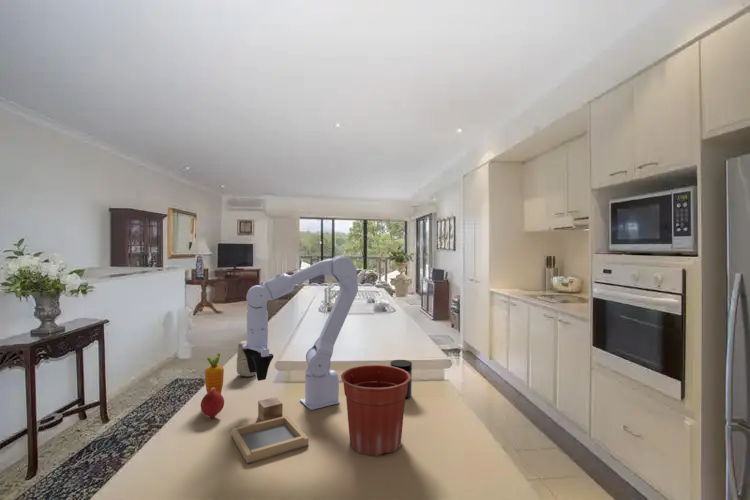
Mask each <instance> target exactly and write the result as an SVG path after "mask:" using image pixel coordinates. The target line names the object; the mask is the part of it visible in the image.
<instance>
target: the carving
mask: <svg viewBox="0 0 750 500" xmlns="http://www.w3.org/2000/svg"><path fill="white" fill-rule="evenodd" d="M246 343H247V339H245V340H242V341H239V343H238V345H237V351H236V353H237V355H236V356H237V357H236V374H237V375H238V376H241V377H253V376H256V372H253V373H250V372H249V368H248V363H247V359H246V356H245V354H244V352H243V350H242V349H243V347H242V345H244V344H246Z"/></svg>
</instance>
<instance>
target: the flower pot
mask: <svg viewBox="0 0 750 500" xmlns="http://www.w3.org/2000/svg"><path fill="white" fill-rule="evenodd" d="M340 378H341V379H340V380H341V381H342V383H343V392H344V395H345V398H346V399H345V400H346V410H347V421H348V422H347V423H348V435H349V444H350V445H351V446H352V448H353V450H354V451H356V452H358V453H360V454H363V455H367V456H383V454H385V453H387V454H388V453H389V454H392V453H394V452H395V451H397V450H398V449H399V448H400V446H401V444H402V434H403V425H404V424H403V423H404V414H405V403H406V400H405V397H406V395H407V388H408V382H409V381H410V378H411V376H410V374H409V373H408V372H407V371H405V370H403V369H400V368H397V367H392V366H390V365H383V364H367V365H360V366H354V367H351V368H348V369H346V370H345V371H343V372H342V373H341V374H340Z"/></svg>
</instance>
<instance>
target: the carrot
mask: <svg viewBox="0 0 750 500" xmlns="http://www.w3.org/2000/svg"><path fill="white" fill-rule="evenodd" d="M220 356H221V353H220V352H217V354H216V356H215V358H214V359H212V358H211V357H210V356H207V357H206V360H207V361H208V363H209V364H210V365H209V366H208V367H207V368H206V369H205V371H204V377H205V378H204V380H205V390H206V394H207V393H208V392H210V390H211V389H212V388H216V390H215V391H217V392H219V393H220V394H221V395H222V391H223V385H224V376H225V374H224V371H225V369H224V367H223V366H221V365H218V363H219V361H220Z"/></svg>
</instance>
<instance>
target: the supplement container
mask: <svg viewBox="0 0 750 500" xmlns="http://www.w3.org/2000/svg"><path fill="white" fill-rule="evenodd" d="M389 364H390V365H389V366H392V367H397V368H400V369H403V370H405V371H407V372H408V373H409V374H410V376H411V378H410V381H409V382H408V388H407V395H406V397H405V401H406V400H409V399H410V398H412V394H413V393H412V391H413V390H412V387H413V384H412V383H413V382H412V380H413V378H412V377H413V376H412V373H413V372H412V371H413V362H412V361H410V360H407V359H394V360H391V361H390V363H389Z"/></svg>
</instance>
